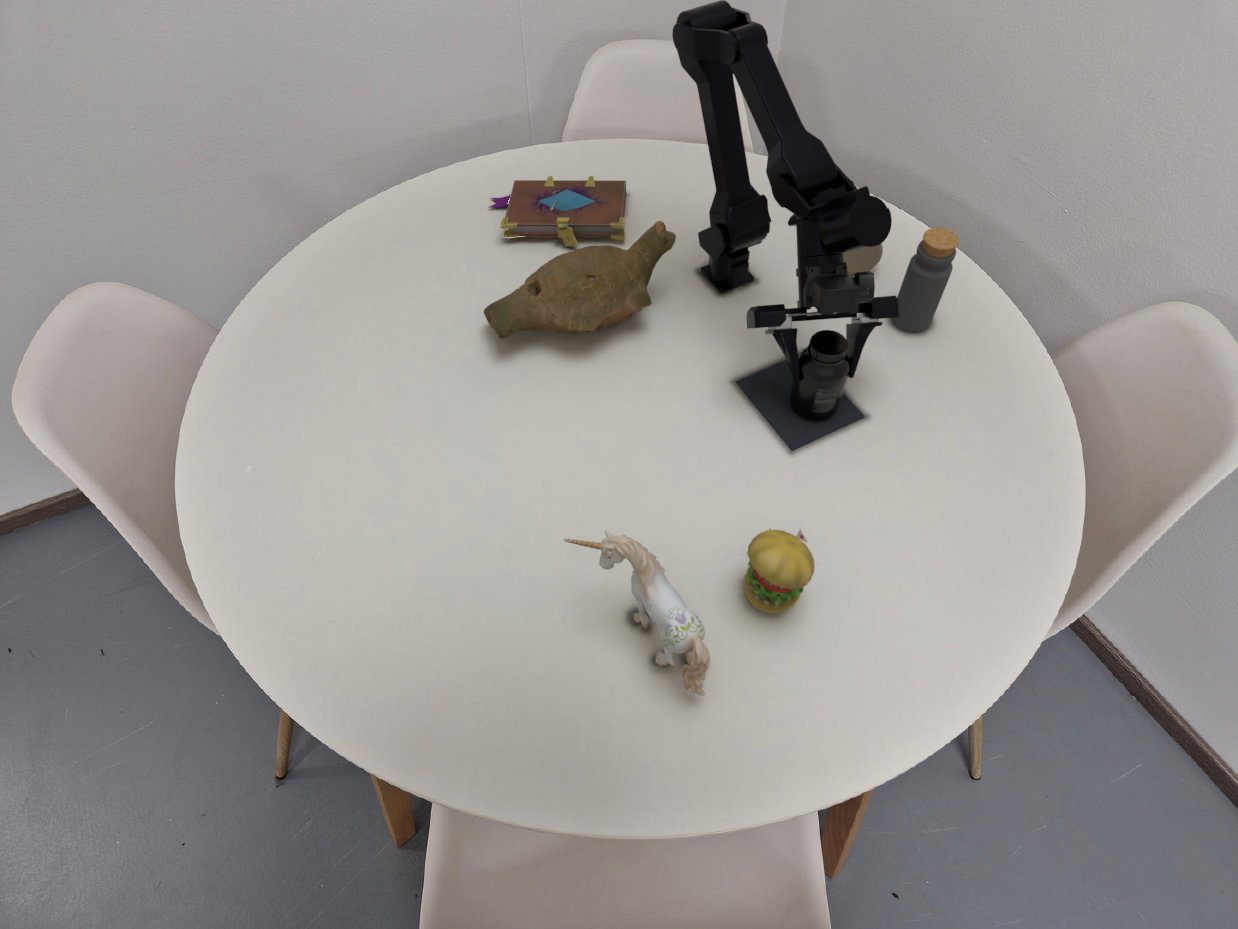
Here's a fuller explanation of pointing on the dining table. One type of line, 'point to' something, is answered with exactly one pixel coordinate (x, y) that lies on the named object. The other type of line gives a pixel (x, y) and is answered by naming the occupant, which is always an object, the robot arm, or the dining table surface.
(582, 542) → the unicorn figurine
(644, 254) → the sculpture
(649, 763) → the dining table surface
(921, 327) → the bottle
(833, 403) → the supplement bottle
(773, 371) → the mat
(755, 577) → the hamburger
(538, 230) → the book
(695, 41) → the robot arm
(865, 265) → the mug
